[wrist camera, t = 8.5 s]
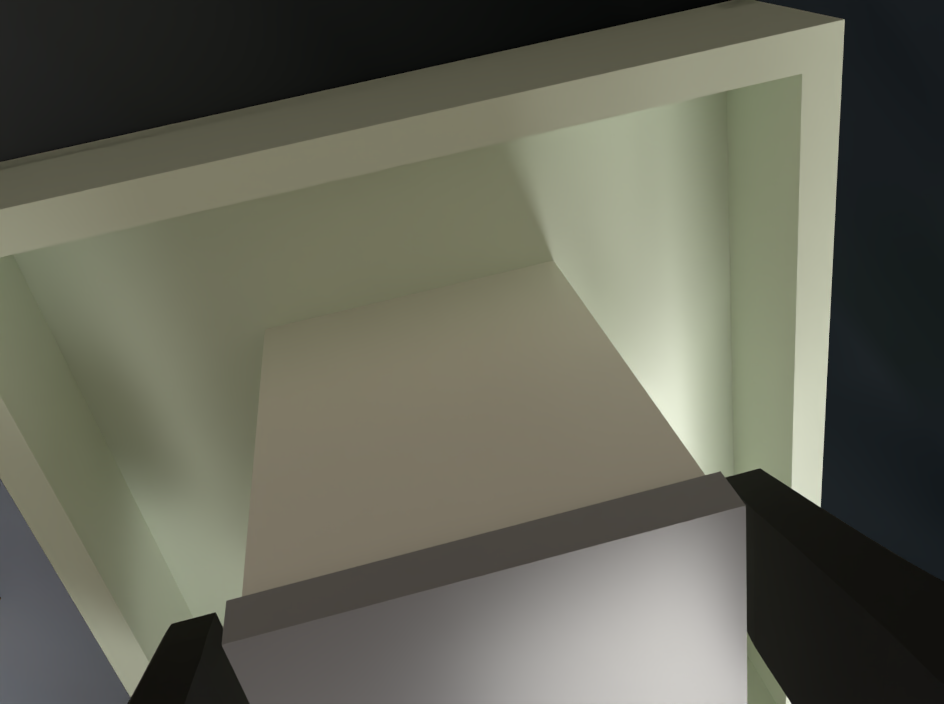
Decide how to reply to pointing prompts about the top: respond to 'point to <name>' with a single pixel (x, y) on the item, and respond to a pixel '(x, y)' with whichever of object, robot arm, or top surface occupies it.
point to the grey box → (480, 515)
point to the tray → (412, 275)
